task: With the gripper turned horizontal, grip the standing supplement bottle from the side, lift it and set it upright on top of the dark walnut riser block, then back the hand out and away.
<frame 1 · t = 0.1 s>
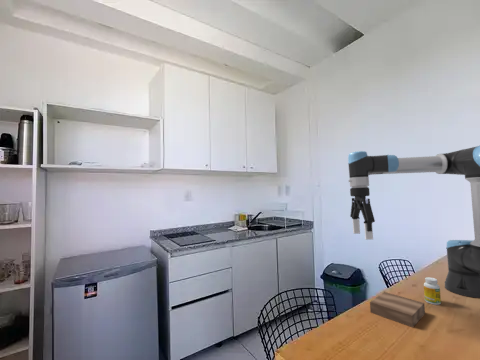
hand: (362, 236, 103), 28 cm above the table, tool pointing down, fingers open, 13 cm apart
supplement bottle: (432, 302, 100), on the table
walnut riser: (397, 313, 92), on the table
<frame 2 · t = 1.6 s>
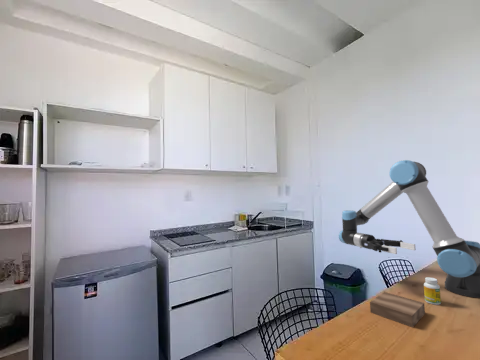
hand: (405, 249, 110), 20 cm above the table, tool horizontal, fingers open, 13 cm apart
nothing on the table moved.
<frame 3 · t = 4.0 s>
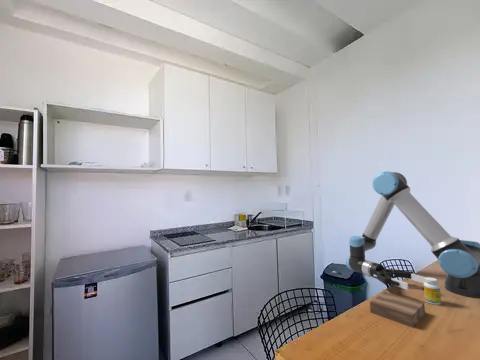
hand: (417, 283, 105), 6 cm above the table, tool horizontal, fingers open, 13 cm apart
nothing on the table moved.
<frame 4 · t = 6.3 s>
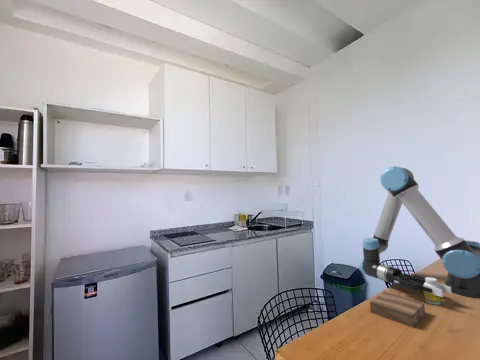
hand: (446, 292, 96), 6 cm above the table, tool horizontal, fingers closed on supplement bottle, 5 cm apart
supplement bottle: (432, 302, 100), on the table, touching gripper
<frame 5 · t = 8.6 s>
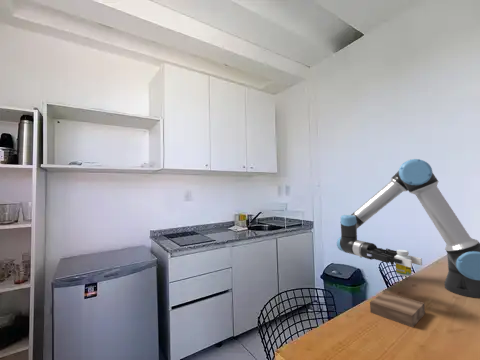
hand: (416, 262, 94), 19 cm above the table, tool horizontal, fingers closed on supplement bottle, 5 cm apart
supplement bottle: (403, 274, 98), point 13 cm above the table, touching gripper
when the fingers open (11 cm above the table, at t = 11.0 s): supplement bottle drops 1 cm, resting on walnut riser.
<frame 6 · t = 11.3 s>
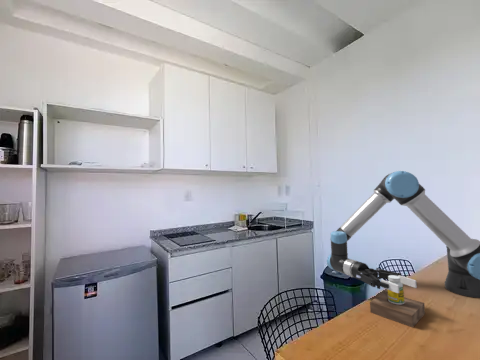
hand: (407, 286, 89), 11 cm above the table, tool horizontal, fingers open, 9 cm apart
supplement bottle: (396, 302, 93), point 4 cm above the table, touching walnut riser
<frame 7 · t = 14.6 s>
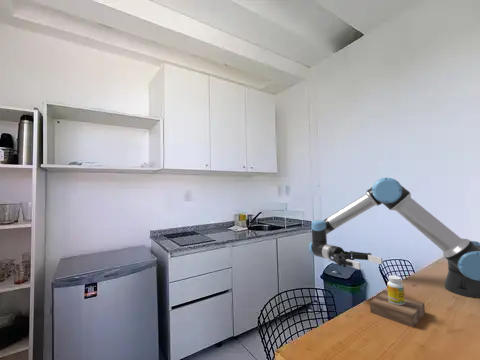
hand: (371, 263, 102), 16 cm above the table, tool horizontal, fingers open, 13 cm apart
nothing on the table moved.
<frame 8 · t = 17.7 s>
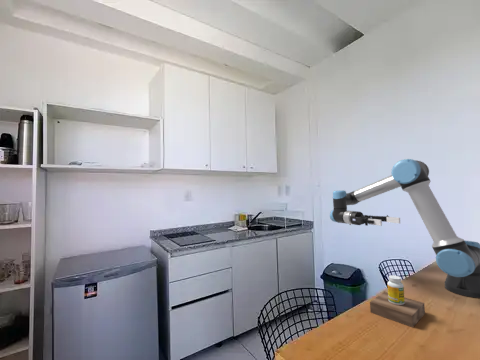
hand: (390, 221, 116), 32 cm above the table, tool horizontal, fingers open, 13 cm apart
nothing on the table moved.
at the end: supplement bottle inside the target area on the walnut riser (0.1 cm from its centre), point 3.8 cm above the walnut riser's base; supplement bottle tilted 0°; the gripper is holding nothing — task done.
